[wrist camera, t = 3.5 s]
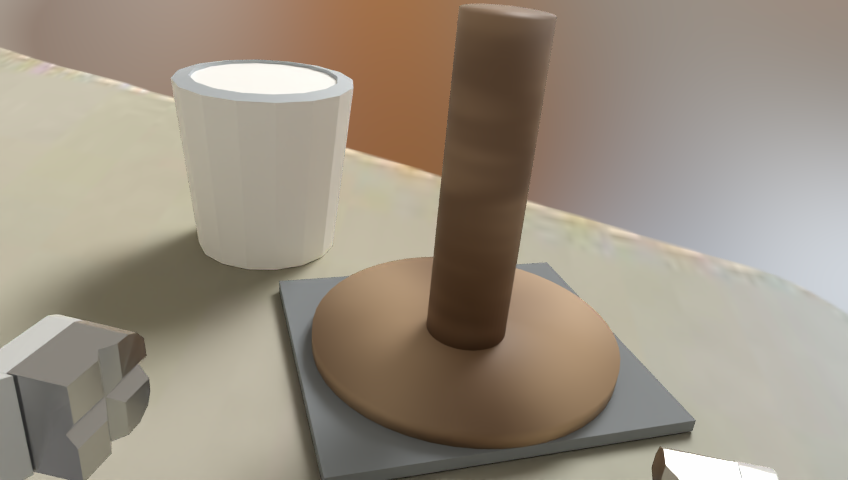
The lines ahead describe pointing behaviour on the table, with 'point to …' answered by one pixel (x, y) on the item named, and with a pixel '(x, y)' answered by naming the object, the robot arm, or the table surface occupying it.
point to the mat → (405, 456)
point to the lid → (474, 278)
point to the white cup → (263, 158)
